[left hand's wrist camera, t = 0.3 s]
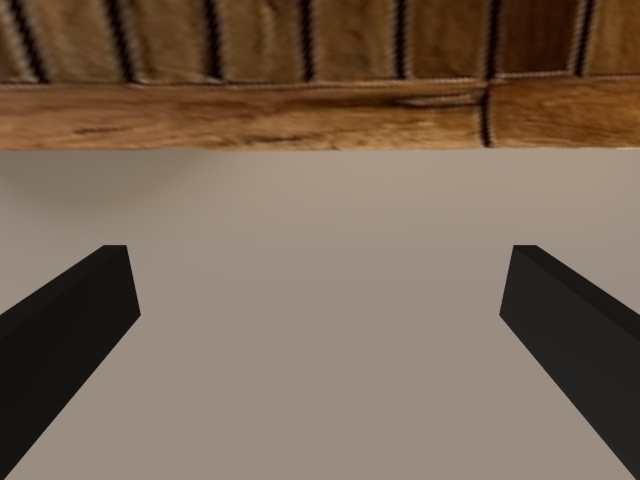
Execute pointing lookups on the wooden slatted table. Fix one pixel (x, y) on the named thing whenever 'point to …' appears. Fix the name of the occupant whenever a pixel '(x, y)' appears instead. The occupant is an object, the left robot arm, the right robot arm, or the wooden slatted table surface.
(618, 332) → the left robot arm
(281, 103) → the wooden slatted table surface
